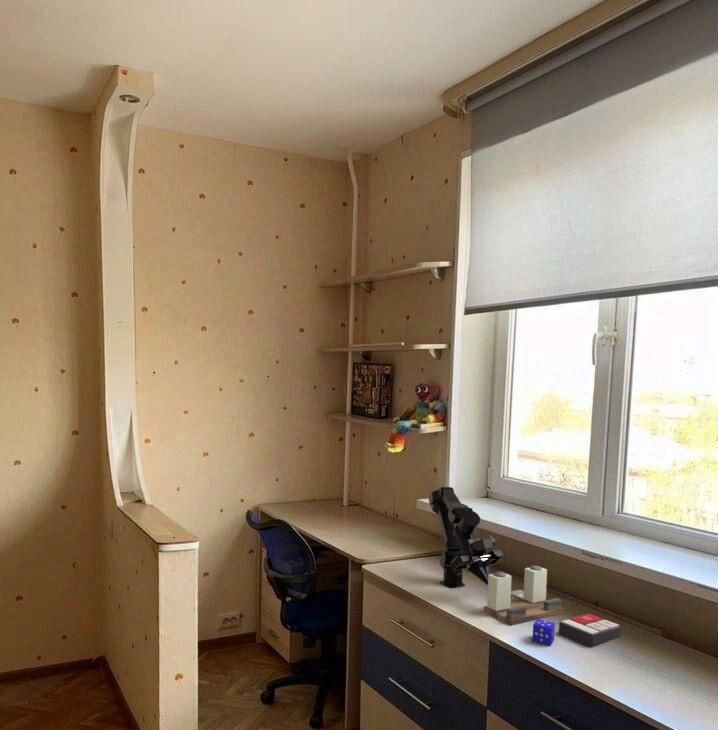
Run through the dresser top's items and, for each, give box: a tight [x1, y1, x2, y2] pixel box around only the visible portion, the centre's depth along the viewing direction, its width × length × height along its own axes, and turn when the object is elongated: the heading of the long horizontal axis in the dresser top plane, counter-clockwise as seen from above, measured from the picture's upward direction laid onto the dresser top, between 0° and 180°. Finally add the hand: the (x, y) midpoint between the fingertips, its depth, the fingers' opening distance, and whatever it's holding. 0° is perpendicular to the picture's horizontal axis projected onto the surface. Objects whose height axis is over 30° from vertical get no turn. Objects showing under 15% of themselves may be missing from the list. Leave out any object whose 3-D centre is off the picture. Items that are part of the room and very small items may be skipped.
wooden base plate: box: [482, 597, 565, 626], centre depth 200 cm, size 12×23×4 cm, turn 121°
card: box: [511, 589, 524, 599], centre depth 215 cm, size 8×6×1 cm
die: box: [531, 619, 556, 647], centre depth 179 cm, size 5×5×5 cm
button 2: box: [523, 564, 548, 603], centre depth 207 cm, size 4×6×11 cm, turn 122°
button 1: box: [486, 571, 512, 611], centre depth 198 cm, size 4×6×11 cm, turn 121°
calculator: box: [558, 613, 622, 648], centre depth 185 cm, size 11×4×15 cm
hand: (489, 584), depth 202 cm, fingers closed
